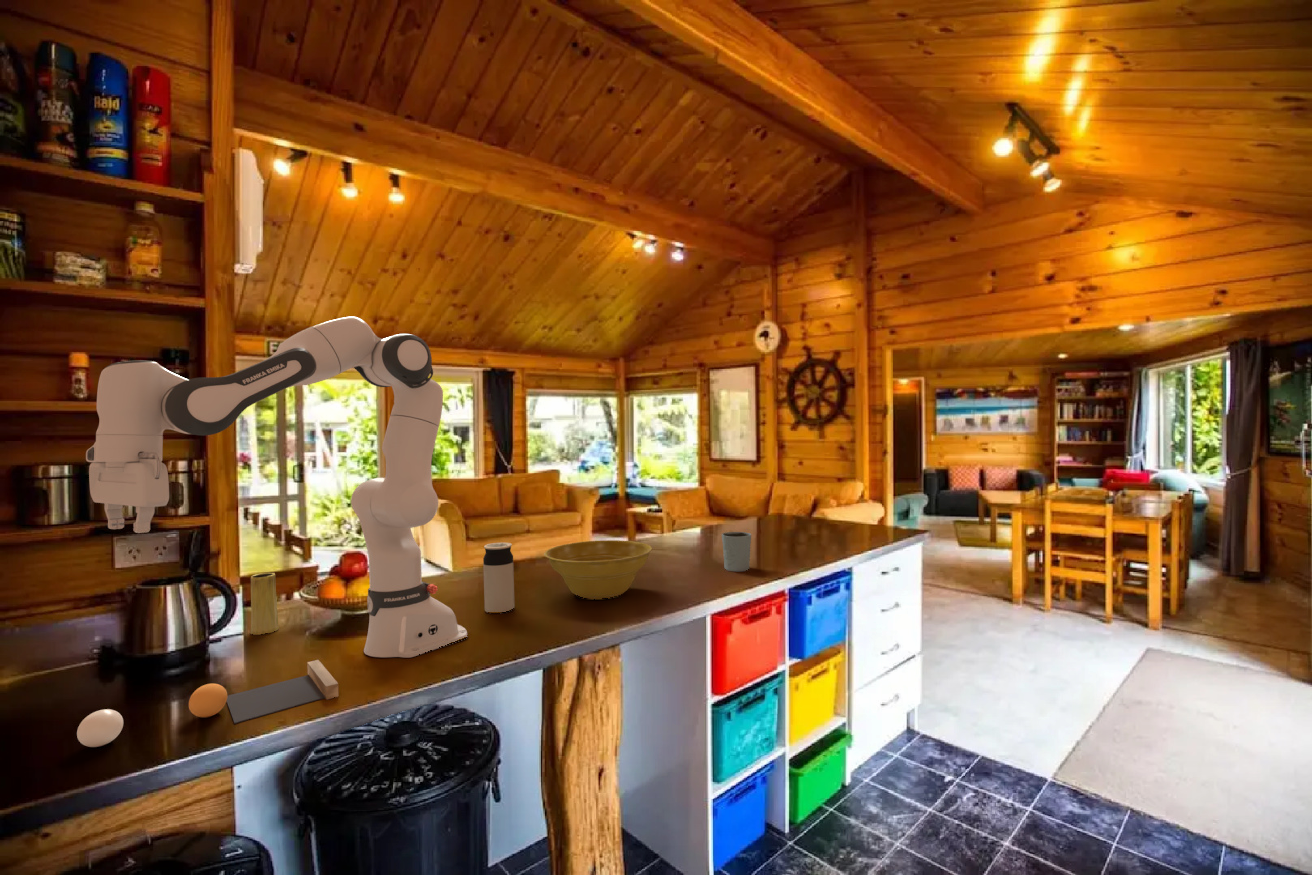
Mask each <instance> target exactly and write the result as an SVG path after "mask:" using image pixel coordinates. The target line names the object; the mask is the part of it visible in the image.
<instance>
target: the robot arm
mask: <svg viewBox="0 0 1312 875" xmlns="http://www.w3.org/2000/svg"><path fill="white" fill-rule="evenodd" d="M432 365H433V359H432V352H431V350H430V347H429V345H428V343H427V342H426V341H425V340H423V338H421V337H420V336H417V335H415V334H410V333H399V334H394V335H391V336H388V337H384V338H381V337H378V335H376V334H375V333H374V331H373V329H372V328H371V326H370V325H369V324H368V323H367V322H366V321H365V320H363V319H361V318H360V317H357V316H346V317H345V316H344V317H339V318H336V319H332V320H328V321H324V322H321V323H319V324H316V325H313V326H310V327H307V328H305V329H303V330H300V331H298V332H296V333H295V334H293V335H291V336H289V337H288V338H287V339H285V340H284V341H282V342H280V344H278V347H277V348H276V351H275V352H274V353H273V354H272V355H271V356H269V357H267V358H266V359H264V360H262V361H259V362H257V363H255V364H252V365H250V366H248V367H246V368H245V367H244V368H243V369H240V370H238V371H236V372H233V373H230V374H227V375H224V376H218V377H217V376H216V377H213V376H212V377H193V378H189V379H188V378H185V377H183V376H180V375H179V374H176V373H174V372H172V371H170V370H168V369H167V368H165V367H164V366H162V365H161V364H159V363H158V362H156V361H154V360H153V361H152V360H143V359H142V360H141V359H140V360H139V359H138V360H125V361H120V362H119V361H117V362H114V363H111V364H109V365H107V366H106V367H104V369H102V370H101V373H100V375H99V378H98V384H97V394H96V412H97V415H98V418H99V423H98V426H97V430H96V432H95V442H94V444H93V445H91V447H90V448H88V449H87V450H86V452H85V460H86V462H88V463H90V465H89V469H88V475H89V476H88V477H89V478H88V479H89V480H88V481H89V492H90V497H91V498H92V501H93V502H94V503H96V504H97V503H98V504H99V503H100V504H104V512H105V515H106V518H107V522H108V523H107V528H108V529H110V530H121V529H123V528H125V518H123V513H122V512H123V511H122V509H123V508H124V507H123V506H128V507H129V506H130V507H135V513H136V517H135V518H136V520H135V522H133V528H132V529H133V532H134V533H137V534H144V533H149V532H150V531H151V522H152V519H153V517H154V515H155V512H156V511H155V509H156V507H166V506H167V504H168V502H169V500H170V483H169V474H168V468H167V466H166V463H163V462H162V461H163V450H164V449H163V448H164V447H163V444H164V443H163V442H164V441H163V440H164V436H163V435H164V431H165V430H170V431H175V432H178V433H182V434H186V435H194V436H202V437H203V436H211V435H216V434H218V433H221V432H223V431H225V430H227V429H228V428H229V427H230V426H231V425H232V424H233V423H234V422H235V421H236V420H237V419H238V417H239V416H240V415H241V414H242V413H243V412H244V411H245V410H246V409H247V408H248V407H250V406H252V405H254V404H256V403H259V402H261V401H262V400H264V399H267V398H269V397H271V396H272V395H275V394H277V393H280V392H281V391H283V390H286V389H288V388H292V387H297V386H308V385H312V384H316V383H320V382H323V381H326V380H328V379H331V378H333V377H336V376H338V375H340V374H342V373H344V372H346V371H348V370H350V369H355V371H356V372H358V373H359V374H360V376H361V377H362V378H363V379H364V380H365V381H366V382H368V383H369V384H371V385H373V386H375V387H379V388H390V387H391V389H392V392H393V396H394V398H393V403H394V404H393V406H392V409H391V413H390V416H389V420H388V422H387V427H386V430H385V434H384V438H383V440H382V441H383V442H382V446H381V450H382V454H383V455H384V458H385V476H384V477H376V478H371V479H368V480H365V481H364V482H361V483H360V484H358V485H357V487H355V489H354V491H353V492H352V495H351V499H350V503H351V504H350V506H351V507H352V510H353V512H354V513H355V514H356V516H357V519H358V520H359V524H360V527H361V530H362V533H363V538H364V541H365V545H366V546H365V547H366V549H367V556H368V573H369V576H368V577H369V588H368V589H367V596H366V597H367V599H366V600H367V610H368V614H369V618H368V619H369V620H368V622H369V623H368V629H367V630H368V631H367V635H366V641H365V645H364V648H363V653H364V654H365V655H367V656H369V657H373V658H407V659H408V658H413V657H416V656H420V655H423V654H425V652H426V653H428V651H429V652H431V651H430V650H432V651H435V650H437V649H440V648H442V647H441V646H443V647H446V646H448V645H447V644H449V643H451V642H455V641H457V640H459V639H462V638H464V637H467V638H468V636H467V635H468V631H467V629H466V628H465V627H463V626H462V625H461V624H458V620H457V617H456V614H455V613H454V611H453V609H452V608H451V607H450V606H448V605H446V604H444V603H443V602H441V601H439V600H438V599H436V598H434V597H432V596H431V594H432V595H435V594H436V593H437V592H438V590H439V589H438V586H437V585H435V584H434V583H428V582H425V581H423V580H422V573H423V572H422V551H421V548H420V546H419V545H418V543H417V541H416V540H415V537H414V535H413V532H412V530H411V529H413V528H417V527H420V526H425V525H427V524H428V523H429V522H431V521H432V520H433V519H434V518H435V516H436V514H437V512H438V509H439V497H438V495H437V492H436V491H435V489H434V487H433V480H432V460H433V452H434V449H435V445H436V441H437V437H438V431H439V427H440V423H441V419H442V413H443V412H442V411H443V403H444V402H443V401H444V400H443V399H444V391H443V388H442V386H441V385H440V384H439V382H436V381H435V379H432V377H433V375H434V370H433V369H434V368H433V366H432ZM455 643H456V642H455ZM445 645H446V646H445ZM449 645H450V644H449ZM439 647H440V648H439ZM419 654H420V655H419Z"/></svg>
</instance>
